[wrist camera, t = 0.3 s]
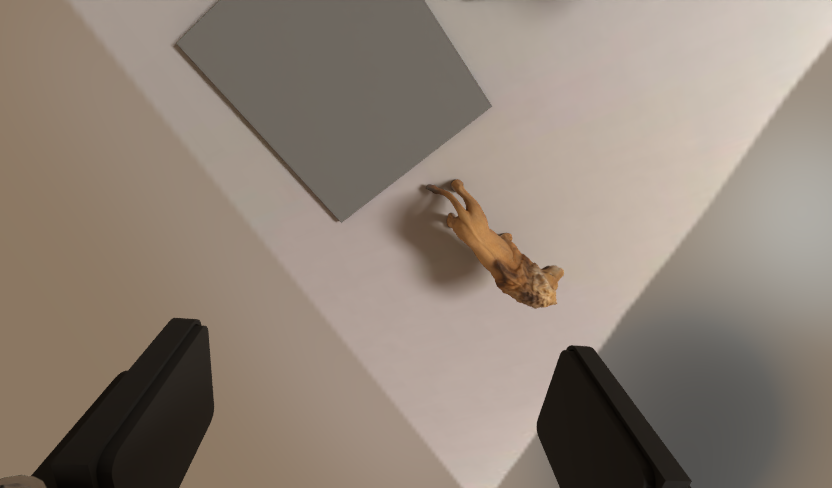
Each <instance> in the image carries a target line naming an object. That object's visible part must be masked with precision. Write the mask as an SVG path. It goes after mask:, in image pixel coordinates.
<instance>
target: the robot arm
mask: <svg viewBox="0 0 832 488" xmlns="http://www.w3.org/2000/svg"><path fill="white" fill-rule="evenodd" d="M213 400H214V399H213V386H212V374H211V361H210V349H209V335H208V328H207V326H201V322H200V320H197V319H183V318H173V319H171V320H170V321H169V322H168V324H167V325H166V326H165V327H164V328H163V330H162V331H161V332H160V333H159V334H158V336H157V337H156V338H155V339H154V340H153V342H152V343H151V344H150V345H149V346H148V348H147V349H146V350H145V351H144V352H143V354H142V355H141V356H140V357H139V358H138V360H137V361H136V362H135V363H134V364H133V365H132V367H131V368H130V369H129V370H128V371H124V372H122V373H120V374H119V375H118V376H117V377H116V378H115V379H114V380H113V381H112V382H111V384H109V386H108V387H107V388H106V389H105V390H104V391H103V393H102V394H101V395H100V396H99V397H98V399H97V400H96V401H95V402H94V403H93V404H92V406H91V407H90V408H89V409H88V410H87V411H86V412H85V414H84V415H83V416H82V417H81V418H80V420H79V421H78V422H77V423H76V424H75V425H74V427H73V428H72V429H71V430H70V431H69V432H68V433H67V435H66V436H65V437H64V438H63V440H61V442H60V443H59V444H58V445H57V446H56V447H55V449H54V450H53V451H52V452H51V453H50V454H49V456H48V457H47V458H46V459H45V460H44V462H43V463H42V464H41V465H40V466H39V467H38V469H37V470H36V471H35V472H34V473H33V474H32V475H31V476H26V475H17V476H10V477H4V478H1V479H0V488H179V487H180V485H181V483H182V481H183V478H184V476H185V474H186V472H187V470H188V468H189V466H190V464H191V462H192V460H193V458H194V456H195V454H196V452H197V449H198V447H199V445H200V443H201V441H202V439H203V437H204V435H205V433H206V431H207V429H208V427H209V425H210V423H211V420H212V417H213V412H214V401H213ZM537 433H538V436H539V439H540V441H541V443H542V446H543V448H544V451H545V453H546V455H547V458H548V460H549V463H550V465H551V467H552V470H553V472H554V475H555V477H556V479H557V482H558V484H559V487H560V488H691V487H690V483H691V482H692V481H691V480H690V478H689V477H688V476H687V474H686V473H685V472H684V470H683V469H682V467H681V466H680V465H679V463H678V462H677V461H676V459H675V458H674V457H673V455H672V454H671V453H670V451H669V450H668V449H667V447H666V446H665V444H664V443H663V442H662V440H661V439H660V438H659V436H658V435H657V434H656V432H655V431H654V430H653V428H652V427H651V426H650V424H649V423H648V422H647V421H646V419H645V417H644V416H643V415H642V413H641V412H640V411H639V409H638V408H637V407H636V405H635V404H634V403H633V401H632V400H631V399H630V397H629V396H628V395H627V393H626V392H625V391H624V389H623V388H622V386H621V385H620V384H619V382H618V381H617V380H616V379H615V377H614V376H613V374H612V373H611V372H610V370H609V369H608V368H607V366H606V365H605V363H604V362H603V361H602V359H601V358H600V357H599V355H598V354H597V353H596V351H595V350H594V349H593V348H592V347H587V346H573V345H571V346H569V347H568V348H567V349H566V350H564V351H562V352H561V354H560V356H559V359H558V362H557V365H556V368H555V371H554V374H553V377H552V380H551V382H550V385H549V388H548V391H547V394H546V397H545V400H544V403H543V406H542V409H541V412H540V415H539V417H538V420H537Z"/></svg>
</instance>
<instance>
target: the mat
mask: <svg viewBox="0 0 832 488" xmlns="http://www.w3.org/2000/svg"><path fill="white" fill-rule="evenodd" d="M176 44H177V45H178V46H179V47H180V48H181V49H182V50H183V51H184V52H185V53H186V54H187V55H188V57H189V58H190V59H191V60H192V61H193V62H194V63H195V64H196V65H197V66H198V67H199V69H200V70H201V71H202V72H203V73H204V74H205V75H206V76H207V77H208V78H209V79H210V80H211V82H212V83H213V84H214V85H215V86H216V87H217V88H218V89H219V90H220V91H221V92H222V94H223V95H224V96H225V97H226V98H227V99H228V100H229V101H230V102H231V103H232V104H233V105H234V107H235V108H236V109H237V110H238V111H239V112H240V113H241V114H242V115H243V116H244V117H245V119H246V120H247V121H248V122H249V123H250V124H251V125H252V126H253V127H254V128H255V129H256V131H257V132H258V133H259V134H260V135H261V136H262V137H263V138H264V139H265V140H266V141H267V142H268V144H269V145H270V146H271V147H272V148H273V149H274V150H275V151H276V152H277V153H278V154H279V156H280V157H281V158H282V159H283V160H284V161H285V162H286V163H287V164H288V165H289V166H290V167H291V169H292V170H293V171H294V172H295V173H296V174H297V175H298V176H299V177H300V178H301V179H302V181H303V182H304V183H305V184H306V185H307V186H308V187H309V188H310V189H311V190H312V191H313V192H314V194H315V195H316V196H317V197H318V198H319V199H320V200H321V201H322V202H323V203H324V204H325V206H326V207H327V208H328V209H329V210H330V211H331V212H332V213H333V214H334V215H335V216H336V218H337V219H338V220H339V221H340V222H341V223H342V222H343V221H344V220H346V219H347V218H348V217H350V216H351V215H352V214H353V213H355V212H356V211H357V210H359V209H360V208H361V207H362V206H364V205H365V204H366V203H368V202H369V201H370V200H372V199H373V198H374V197H375V196H377V195H378V194H379V193H381V192H382V191H383V190H384V189H386V188H387V187H388V186H390V185H391V184H392V183H394V182H395V181H396V180H397V179H399V178H400V177H401V176H403V175H404V174H405V173H406V172H408V171H409V170H410V169H412V168H413V167H414V166H416V165H417V164H418V163H419V162H421V161H422V160H423V159H425V158H426V157H427V156H428V155H430V154H431V153H432V152H434V151H435V150H436V149H437V148H439V147H440V146H441V145H443V144H444V143H445V142H447V141H448V140H449V139H450V138H452V137H453V136H454V135H456V134H457V133H458V132H459V131H461V130H462V129H463V128H465V127H466V126H467V125H469V124H470V123H471V122H472V121H474V120H475V119H476V118H478V117H479V116H480V115H481V114H483V113H484V112H485V111H487V110H488V109H489V108H491V107H492V105H491V104H490V102H489V101H488V99H487V98H486V96H485V94H484V93H483V91H482V90H481V88H480V87H479V85H478V84H477V82H476V80H475V79H474V77H473V76H472V74H471V73H470V71H469V70H468V68H467V66H466V65H465V63H464V62H463V60H462V59H461V57H460V55H459V54H458V52H457V51H456V49H455V48H454V46H453V45H452V43H451V41H450V40H449V38H448V37H447V35H446V34H445V32H444V31H443V29H442V27H441V26H440V24H439V23H438V21H437V20H436V18H435V17H434V15H433V13H432V12H431V10H430V9H429V7H428V6H427V4H426V2H425V1H424V0H220V1H219V2H218V3H217V4H216V5H215V6H213V7H212V8H211V9H210V10H209V11H208V12H207V13H206V14H205V15H204V16H203V17H202V18H201V19H200V20H199V21H198V22H197V23H196V24H195V25H194V26H193V27H192V28H191V29H190V30H189V31H188V32H187V33H186V34H185V35H184V36H183V37H182V38H181V39H180V40H179V41H178V42H177V43H176Z"/></svg>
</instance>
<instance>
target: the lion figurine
mask: <svg viewBox="0 0 832 488" xmlns="http://www.w3.org/2000/svg"><path fill="white" fill-rule="evenodd" d="M451 187H452V189H453V190H454V191H456V192H457V194H459V195H460V196H461V197H462V198H463V200H464V202H465V204H466V210H465V209H464V208H463V207H462V205H461V204H460V203H459V201H458V200H457V199H456V198H455V197H454V196H453V195H452V194H451V193H450V192H448V191H446V190H443V189H440V188H438V187H436V186H435V185H431V184H428V185H427V186H426V188H427V189H428V190H430V191H432V192H433V193H435V194H441V195H444V196H445V197H447V198H448V199H449V200H450V201H451V203H452V204H453V206H454V208H455V209H456V211H457V213H458V216H457V217H456V215H455V214H453V213H449V214H448V218H447V225H448V226H449V227H450V228H453V231H454V232H455V233H456V234H457V236H458V237H459V238H460V239H461V240H462V241H463V242H464V243H466V244H467V245H468V246H469V247H471V249H472V250H473V252H474V253H475V255H476V256H477V258H478V259H479V261H480V262H481V264H482V265H483V266H484V267H485V268H486V269H487V270H488V271H490V272H491V274H492V276H493V278H494V279H495V282H496V285H497V287H498V288H500V289H501V290H502V292H503V293H506V294H508V295H510V296H511V297H512V298H514V299H516V301H517V302H520V303H523V304H526V305H528V306H530V307H533V308H535V309H536V308H539V307H548V306H550V305H553V304H554V305H556V304H557V302H556V291H555V290H556V289H557V287H558V283H557V282H558V281H559V280H560V278H561V277H562V276H563V275H564V270H563V269H562V268H559V267H557V266H546V267H544V268H543V269H540V268H539V267H538V265H537V264H536V263H533V262H531V261H530V259H529V258H528V257H526V256H525V255H524V254H521V253H520V251H519V250H518V248H517V247H516V245H515V244H514V243H513V242H511V240H512V235H511V234H509V233H504V234H502V235H501V236H498V235H497V234H496V233H495V232H494V231H492V230H491V229H489V227H488V222H487V219H486V216H485V214H484V212H483V211H482V209H481V207H480V205H479V204H478V202H477V201H476V200H475V199H474V198H473V197H472V196H471V195H470V194H469V193H468V192H467V191H466V190H465V189H464V187H463V182H462V181H460V180H458V179H457V180H454V181H453V182H452V183H451Z"/></svg>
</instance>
